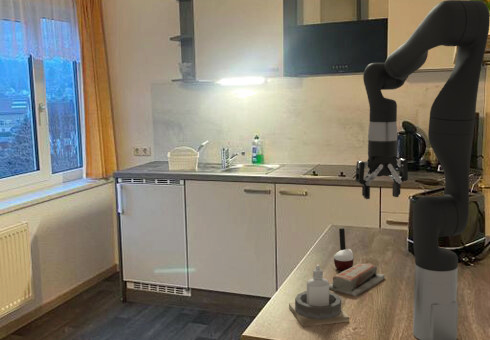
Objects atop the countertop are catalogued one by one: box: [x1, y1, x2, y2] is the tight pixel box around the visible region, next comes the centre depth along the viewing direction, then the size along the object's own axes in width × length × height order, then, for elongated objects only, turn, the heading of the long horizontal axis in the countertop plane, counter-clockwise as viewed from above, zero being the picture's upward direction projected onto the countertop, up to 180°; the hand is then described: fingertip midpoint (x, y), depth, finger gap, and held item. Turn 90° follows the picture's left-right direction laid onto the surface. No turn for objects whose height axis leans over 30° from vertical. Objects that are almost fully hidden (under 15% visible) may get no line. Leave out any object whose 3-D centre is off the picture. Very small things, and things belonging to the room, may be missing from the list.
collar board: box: [288, 290, 350, 328], centre depth 137 cm, size 12×12×4 cm
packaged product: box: [329, 263, 386, 297], centre depth 159 cm, size 18×5×10 cm
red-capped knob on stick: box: [333, 227, 355, 272], centre depth 171 cm, size 10×6×12 cm, turn 156°
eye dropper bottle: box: [306, 264, 330, 306], centre depth 137 cm, size 4×6×12 cm
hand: (381, 197), depth 145 cm, fingers open, 8 cm apart
